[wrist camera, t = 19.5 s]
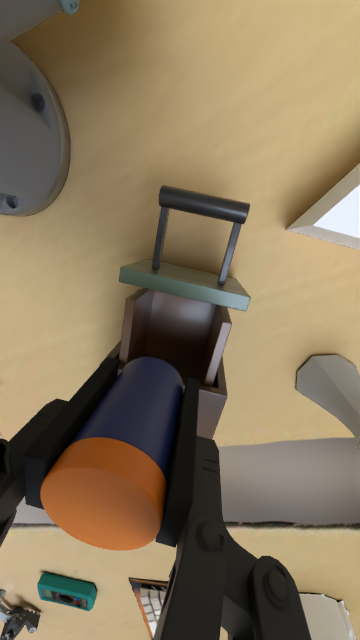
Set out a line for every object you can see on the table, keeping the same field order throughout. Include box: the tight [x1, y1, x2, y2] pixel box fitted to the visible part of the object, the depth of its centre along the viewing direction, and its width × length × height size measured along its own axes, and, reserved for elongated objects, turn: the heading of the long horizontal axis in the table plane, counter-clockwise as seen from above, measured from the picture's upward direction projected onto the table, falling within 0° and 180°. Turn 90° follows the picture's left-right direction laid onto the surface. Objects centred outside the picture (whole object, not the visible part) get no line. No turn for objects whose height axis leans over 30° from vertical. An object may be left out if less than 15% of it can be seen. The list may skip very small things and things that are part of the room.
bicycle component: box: [0, 591, 40, 640], centre depth 62 cm, size 12×7×15 cm
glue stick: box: [40, 357, 184, 550], centre depth 11 cm, size 4×4×7 cm
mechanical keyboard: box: [129, 578, 168, 640], centre depth 55 cm, size 38×19×3 cm, turn 8°
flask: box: [296, 355, 360, 448], centre depth 24 cm, size 7×7×10 cm
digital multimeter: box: [37, 573, 97, 611], centre depth 56 cm, size 7×15×3 cm, turn 84°
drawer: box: [119, 185, 251, 387], centre depth 22 cm, size 19×10×9 cm, turn 168°
